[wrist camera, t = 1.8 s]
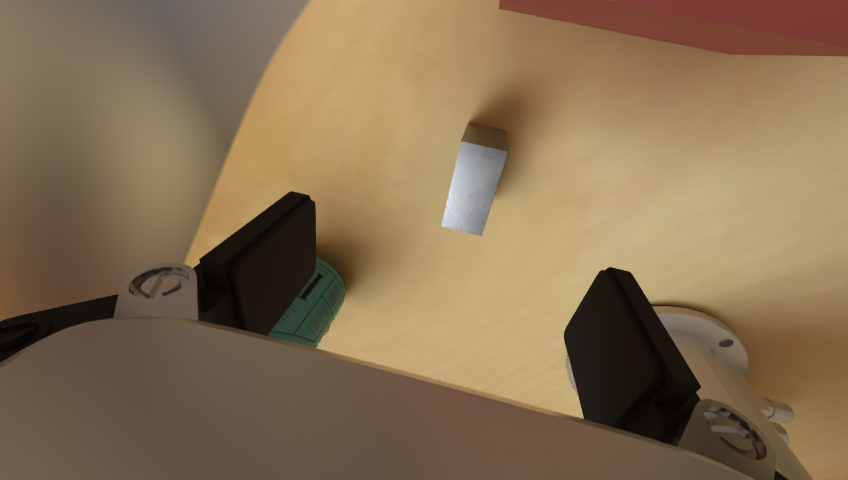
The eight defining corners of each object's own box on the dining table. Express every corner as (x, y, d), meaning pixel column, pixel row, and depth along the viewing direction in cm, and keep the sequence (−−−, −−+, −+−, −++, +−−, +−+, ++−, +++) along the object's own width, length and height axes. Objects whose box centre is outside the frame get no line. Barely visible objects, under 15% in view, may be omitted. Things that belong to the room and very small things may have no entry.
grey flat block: (505, 130, 20) (508, 151, 16) (484, 201, 23) (481, 236, 19) (468, 122, 21) (461, 141, 16) (451, 194, 23) (441, 226, 19)
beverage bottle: (351, 247, 27) (112, 576, 10) (357, 307, 31) (184, 629, 14) (280, 238, 28) (-49, 524, 11) (293, 297, 31) (56, 586, 14)
